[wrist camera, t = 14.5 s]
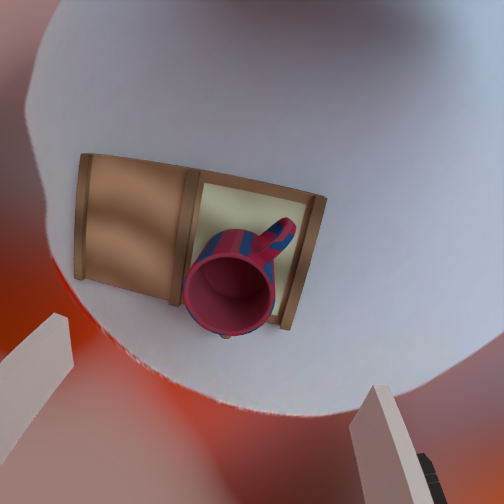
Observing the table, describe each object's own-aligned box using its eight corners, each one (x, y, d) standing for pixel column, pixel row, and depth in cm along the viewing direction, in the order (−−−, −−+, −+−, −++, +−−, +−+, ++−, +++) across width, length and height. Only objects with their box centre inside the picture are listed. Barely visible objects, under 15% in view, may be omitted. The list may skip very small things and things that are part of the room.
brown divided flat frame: (90, 153, 27) (74, 154, 24) (323, 195, 28) (329, 200, 25) (82, 285, 32) (69, 296, 29) (284, 334, 32) (286, 350, 29)
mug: (186, 259, 29) (164, 289, 22) (270, 188, 26) (271, 200, 20) (233, 310, 30) (225, 350, 24) (317, 247, 28) (332, 275, 21)
